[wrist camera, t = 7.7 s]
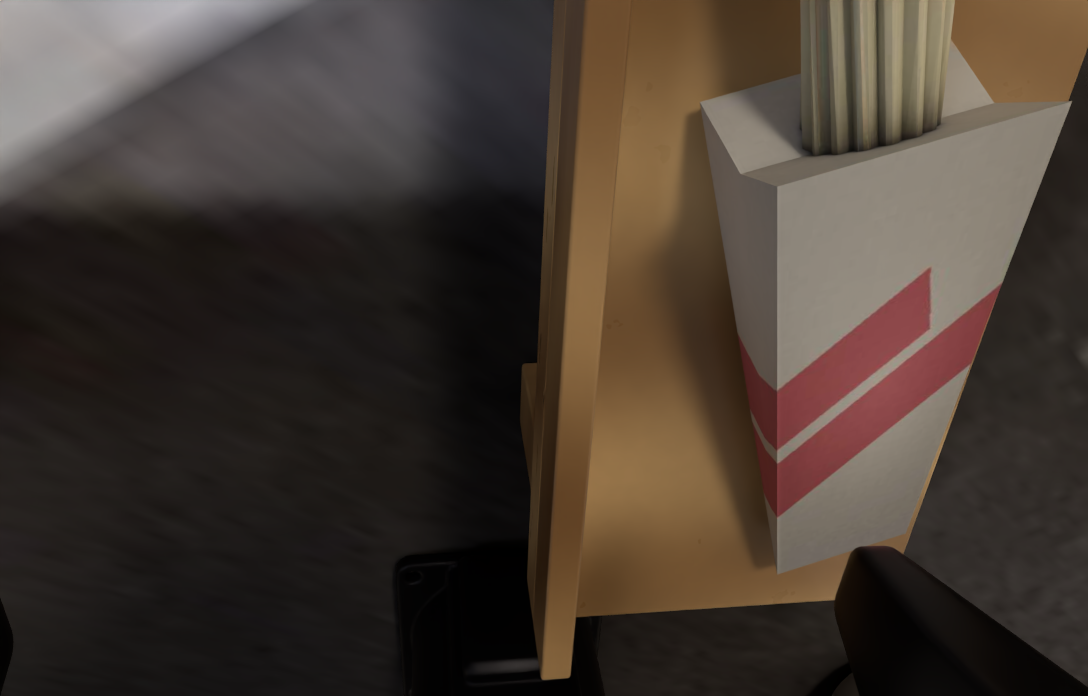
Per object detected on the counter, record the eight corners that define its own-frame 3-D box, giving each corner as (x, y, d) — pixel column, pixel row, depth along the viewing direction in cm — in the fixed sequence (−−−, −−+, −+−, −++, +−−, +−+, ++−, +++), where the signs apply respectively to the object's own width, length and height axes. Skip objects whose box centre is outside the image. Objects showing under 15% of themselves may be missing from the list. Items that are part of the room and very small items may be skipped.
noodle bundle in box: (782, 645, 16) (756, -1800, 4) (725, 535, 18) (599, -1268, 6) (972, 585, 16) (1506, -1888, 4) (895, 484, 19) (1099, -1344, 6)
